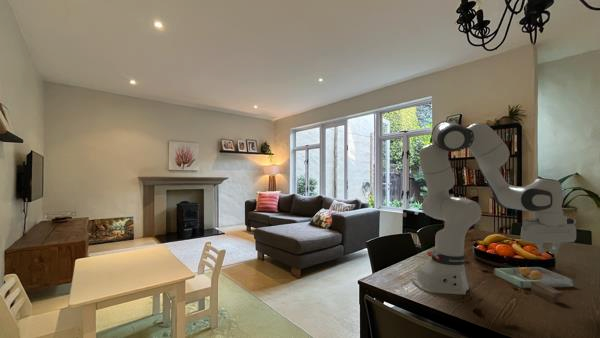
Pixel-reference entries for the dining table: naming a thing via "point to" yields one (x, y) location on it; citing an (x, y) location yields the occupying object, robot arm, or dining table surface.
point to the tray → (512, 277)
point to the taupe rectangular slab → (546, 292)
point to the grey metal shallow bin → (546, 277)
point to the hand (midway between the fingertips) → (547, 252)
